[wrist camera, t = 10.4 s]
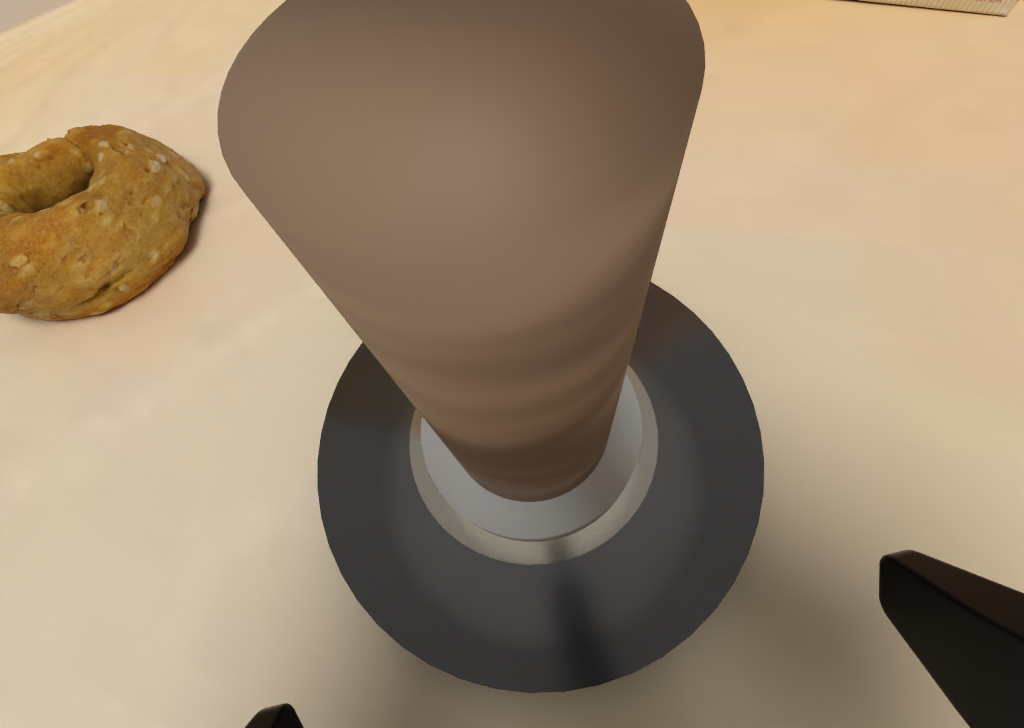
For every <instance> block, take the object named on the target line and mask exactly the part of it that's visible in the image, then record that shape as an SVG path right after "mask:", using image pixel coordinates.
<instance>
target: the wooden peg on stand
mask: <svg viewBox="0 0 1024 728" xmlns="http://www.w3.org/2000/svg"><path fill="white" fill-rule="evenodd" d="M704 71H705V51H704V42H703V38H702V34H701V31H700V27H699V23H698V21H697V19H696V17H695V15H694V13H693V11H692V9H691V7H690V5H689V4H688V2H687V1H686V0H286V1H285V2H284V3H283V4H282V5H280V6H279V7H278V8H277V9H276V10H275V11H274V12H273V13H272V14H270V15H269V16H268V17H267V18H266V19H265V20H264V22H263V23H262V24H261V25H260V26H259V27H258V28H257V29H256V30H255V31H254V33H253V34H252V35H251V36H250V38H249V39H248V41H247V42H246V43H245V45H244V46H243V47H242V49H241V50H240V52H239V53H238V55H237V57H236V59H235V61H234V63H233V64H232V66H231V68H230V70H229V72H228V75H227V78H226V80H225V83H224V86H223V89H222V91H221V97H220V102H219V108H218V137H219V141H220V146H221V150H222V155H223V157H224V159H225V161H226V164H227V166H228V168H229V170H230V173H231V175H232V176H233V178H234V179H235V180H236V182H237V183H238V185H239V186H240V187H241V189H242V190H243V191H244V193H245V194H246V195H247V197H248V198H249V199H250V200H251V202H252V203H253V204H254V206H255V207H256V208H257V209H258V211H259V212H260V213H261V214H262V216H263V217H264V218H265V219H266V221H267V222H268V223H269V224H270V226H271V227H272V228H273V229H274V231H275V232H276V233H277V234H278V236H279V237H280V238H281V239H282V241H283V242H284V243H285V244H286V246H287V247H288V248H289V249H290V251H291V252H292V253H293V255H294V256H295V257H296V258H297V260H298V261H299V262H300V263H301V265H302V266H303V267H304V268H305V270H306V271H307V272H308V273H309V275H310V276H311V277H312V278H313V280H314V281H315V282H316V283H317V285H318V286H319V287H320V288H321V290H322V291H323V292H324V293H325V295H326V296H327V297H328V298H329V300H330V301H331V302H332V303H333V305H334V306H335V307H336V309H337V310H338V311H339V312H340V314H341V315H342V316H343V317H344V319H345V320H346V321H347V322H348V324H349V325H350V326H351V327H352V329H353V330H354V331H355V332H356V334H357V335H358V336H359V337H360V339H361V340H362V341H363V342H364V344H365V345H366V346H367V347H368V349H369V350H370V351H371V352H372V354H373V355H374V356H375V358H376V359H377V360H378V361H379V363H380V364H381V365H382V366H383V368H384V369H385V370H386V371H387V373H388V374H389V375H390V376H391V378H392V379H393V380H394V381H395V383H396V384H397V385H398V386H399V388H400V389H401V390H402V391H403V393H404V394H405V395H406V396H407V398H408V399H409V400H410V401H411V403H412V404H413V405H414V407H415V408H416V409H417V410H418V412H419V413H420V414H421V415H422V422H421V445H422V451H423V456H424V460H425V463H426V466H427V469H428V472H429V474H430V476H431V478H432V480H433V482H434V484H435V486H436V487H437V489H438V490H439V492H440V493H441V494H442V496H443V497H444V498H445V499H446V501H447V502H448V503H449V504H450V505H451V506H452V507H453V508H454V509H455V510H456V511H458V512H459V513H460V514H461V515H463V516H464V517H465V518H466V519H468V520H469V521H470V522H472V523H473V524H475V525H476V526H478V527H480V528H481V529H483V530H485V531H487V532H489V533H492V534H494V535H496V536H499V537H503V538H507V539H510V540H517V541H525V542H542V541H548V540H555V539H559V538H562V537H565V536H569V535H571V534H574V533H576V532H578V531H580V530H582V529H584V528H586V527H587V526H589V525H591V524H592V523H594V522H595V521H597V520H598V519H599V518H600V517H601V516H602V515H604V514H605V513H606V512H607V511H608V510H609V509H610V508H611V507H612V505H613V504H614V503H615V502H616V501H617V500H618V498H619V496H620V495H621V493H622V492H623V490H624V489H625V487H626V485H627V483H628V482H629V480H630V477H631V475H632V473H633V471H634V469H635V467H636V463H637V460H638V457H639V454H640V448H641V442H642V418H641V410H640V406H639V402H638V399H637V396H636V393H635V391H634V388H633V386H632V384H631V382H630V380H629V379H628V377H627V375H626V371H627V367H628V363H629V360H630V356H631V352H632V348H633V345H634V341H635V337H636V333H637V330H638V326H639V322H640V318H641V315H642V311H643V307H644V303H645V300H646V296H647V292H648V289H649V285H650V281H651V277H652V274H653V270H654V266H655V262H656V259H657V255H658V251H659V247H660V244H661V240H662V236H663V232H664V229H665V225H666V221H667V217H668V214H669V210H670V206H671V202H672V199H673V195H674V191H675V188H676V184H677V180H678V176H679V173H680V169H681V165H682V161H683V158H684V154H685V150H686V146H687V143H688V139H689V135H690V131H691V128H692V124H693V120H694V116H695V113H696V109H697V105H698V101H699V98H700V94H701V90H702V84H703V78H704Z"/></svg>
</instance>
